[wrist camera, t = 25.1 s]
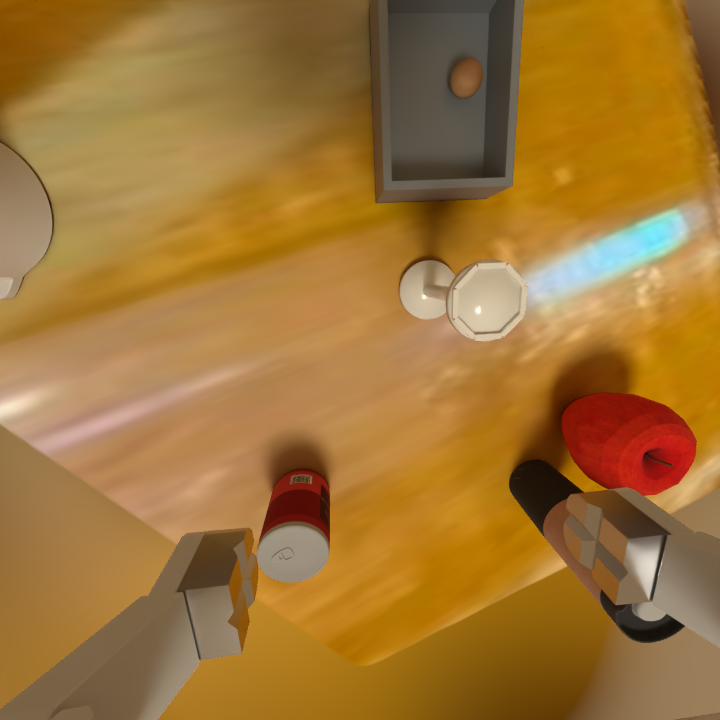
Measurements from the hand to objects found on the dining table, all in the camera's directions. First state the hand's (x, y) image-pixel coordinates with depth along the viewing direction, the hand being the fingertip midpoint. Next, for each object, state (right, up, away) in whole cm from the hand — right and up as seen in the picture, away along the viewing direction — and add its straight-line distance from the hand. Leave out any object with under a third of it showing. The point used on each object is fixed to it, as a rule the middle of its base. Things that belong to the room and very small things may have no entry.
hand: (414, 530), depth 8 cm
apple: (+30, -4, +39) cm, 49 cm away
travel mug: (+24, -14, +41) cm, 50 cm away
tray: (+6, +31, +28) cm, 42 cm away
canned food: (-10, -14, +38) cm, 42 cm away
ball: (+9, +33, +25) cm, 42 cm away
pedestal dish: (+7, +13, +33) cm, 36 cm away
